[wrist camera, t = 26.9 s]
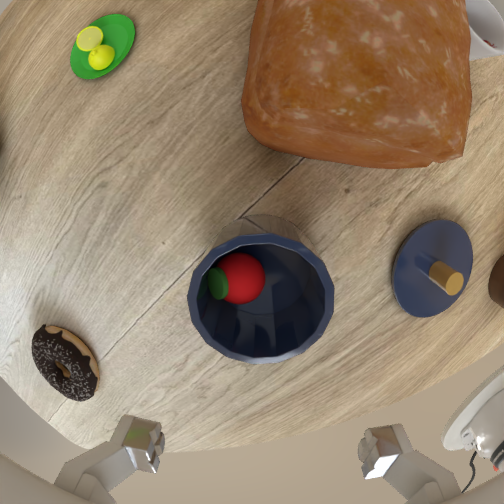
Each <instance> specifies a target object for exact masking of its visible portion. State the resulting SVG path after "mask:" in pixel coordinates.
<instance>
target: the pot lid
mask: <svg viewBox="0 0 504 504" xmlns="http://www.w3.org/2000/svg"><path fill="white" fill-rule="evenodd" d="M472 263H473V251H472V245H471V242H470V239H469V237H468V235H467V233H466V232H465V230H464V229H463V228H462V227H461V226H460V225H458V224H457V223H455V222H453V221H450V220H447V219H434V220H430V221H428V222H425V223H423V224H422V225H420V226H419V227H417V228H416V229H415V230H414V231H413V232H412V233H411V234H410V235H409V236H408V237H407V238H406V240H405V241H404V243H403V244H402V246H401V247H400V249H399V251H398V254H397V256H396V259H395V262H394V266H393V271H392V289H393V293H394V296H395V299H396V301H397V302H398V304H399V305H400V306H401V308H402V309H403V310H404V311H405V312H407V313H408V314H410V315H412V316H415V317H424V318H425V317H431V316H435V315H437V314H439V313H441V312H443V311H445V310H446V309H447V308H449V307H450V306H451V305H452V304H453V303H454V302H455V301H456V300H457V299H458V298H459V296H460V295H461V293H462V292H463V290H464V289H465V287H466V285H467V282H468V280H469V277H470V274H471V270H472Z"/></svg>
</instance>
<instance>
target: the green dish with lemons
mask: <svg viewBox="0 0 504 504" xmlns="http://www.w3.org/2000/svg"><path fill="white" fill-rule="evenodd" d="M134 36H135V28H134V25H133V22H132V21H131V20H130V18H128V17H126V16H124V15H121V14H111V15H107V16H104V17H101V18H99V19H97V20H96V21H94V22H93V23H91V24H90V25H89V26H88V27H86V28H85V29H83V30H82V31H81V32H80V33H79V34H78V36H77V40H76V42H75V44H74V46H73V49H72V52H71V57H70V64H71V68H72V70H73V72H74V73H75V74H76V75H77V76H78V77H80V78H83V79H94V78H98V77H100V76H103V75H105V74H107V73H108V72H110V71H111V70H113V69H114V68H115V67H116V66H117V65H118V64H119V63H120V62H121V61H122V60H123V59H124V58H125V56H126V55H127V53H128V52H129V50H130V48H131V46H132V44H133V41H134Z"/></svg>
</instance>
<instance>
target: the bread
mask: <svg viewBox="0 0 504 504" xmlns="http://www.w3.org/2000/svg"><path fill="white" fill-rule="evenodd" d="M470 45H471V35H470V28H469V22H468V16H467V11H466V3H465V0H258V4H257V8H256V12H255V16H254V20H253V24H252V28H251V35H250V46H249V58H248V68H247V73H246V78H245V83H244V88H243V94H242V99H241V103H242V109H243V115H244V121H245V124H246V127H247V130H248V132H249V133H250V134H251V135H252V136H253V137H254V138H255V139H256V140H257V141H258V142H259V143H260V144H262V145H264V146H266V147H268V148H270V149H273V150H275V151H278V152H283V153H288V154H292V155H296V156H301V157H305V158H309V159H317V160H324V161H331V162H338V163H344V164H350V165H356V166H361V167H370V168H384V169H400V168H418V167H427V166H429V165H430V164H431V163H432V162H433V161H434V162H438V163H443V162H446V161H449V160H452V159H456V158H459V157H462V156H463V151H464V146H465V141H466V136H467V130H468V124H469V117H470V110H471V102H472V91H471V83H470V68H469V55H470Z"/></svg>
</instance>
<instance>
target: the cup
mask: <svg viewBox="0 0 504 504" xmlns="http://www.w3.org/2000/svg"><path fill="white" fill-rule="evenodd" d="M465 3H466V11H467V16H468V22H469V28H470V35H471V45H470V55H469V61H471V60H476V59H482V58H487V57H493V56H500V55H504V21H503V19H502V17H501V16H500V14H499V13H498V11H497V10H496V8H495V7H494V6H493V5H492V4H491V3H490V1H489V0H465Z"/></svg>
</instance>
